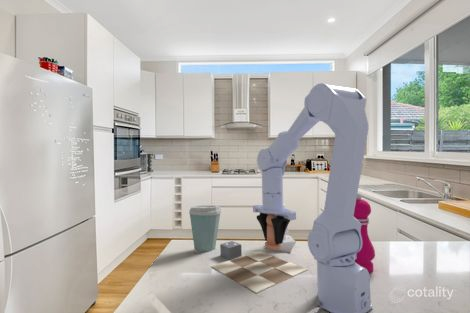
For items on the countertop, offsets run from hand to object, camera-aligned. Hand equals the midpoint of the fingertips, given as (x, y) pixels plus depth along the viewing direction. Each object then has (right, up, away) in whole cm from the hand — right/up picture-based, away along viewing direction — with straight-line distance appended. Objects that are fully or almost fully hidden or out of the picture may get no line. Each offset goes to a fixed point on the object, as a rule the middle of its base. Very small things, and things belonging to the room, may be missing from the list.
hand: (273, 241), depth 72 cm
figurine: (+5, -7, +12) cm, 15 cm away
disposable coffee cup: (-20, -8, +13) cm, 25 cm away
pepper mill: (+23, -6, -3) cm, 24 cm away
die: (-12, -7, +6) cm, 15 cm away
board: (-5, -7, -4) cm, 9 cm away
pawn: (0, -1, 0) cm, 1 cm away
